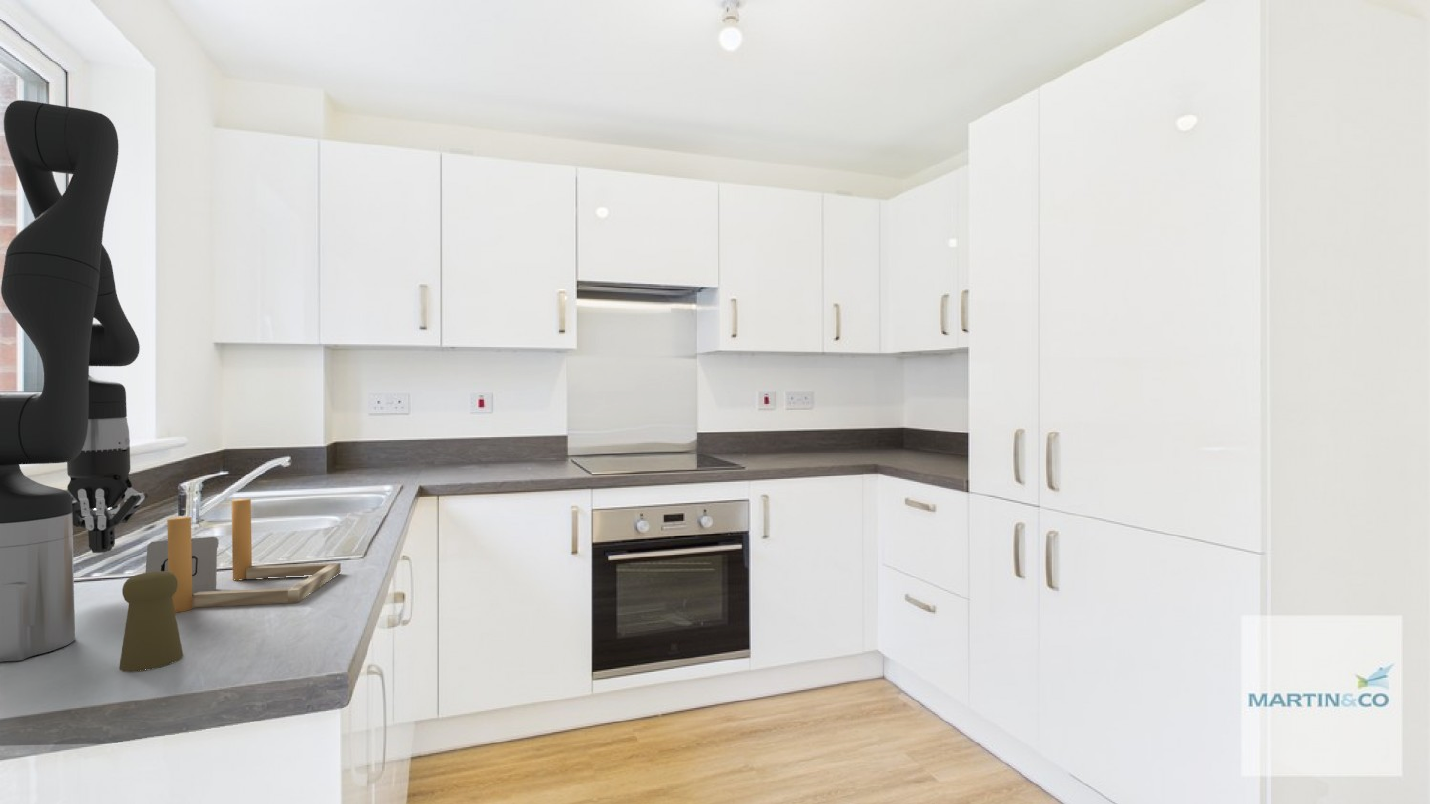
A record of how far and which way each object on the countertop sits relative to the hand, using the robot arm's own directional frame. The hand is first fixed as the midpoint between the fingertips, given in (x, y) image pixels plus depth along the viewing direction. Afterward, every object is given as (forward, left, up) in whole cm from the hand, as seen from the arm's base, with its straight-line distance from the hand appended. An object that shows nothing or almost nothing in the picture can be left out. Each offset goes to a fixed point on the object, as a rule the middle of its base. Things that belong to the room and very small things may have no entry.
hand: (102, 551), depth 108 cm
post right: (+8, -17, -7) cm, 20 cm away
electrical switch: (0, -12, -8) cm, 14 cm away
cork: (-30, -26, -8) cm, 41 cm away
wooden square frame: (0, -25, -7) cm, 26 cm away
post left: (-9, -17, -7) cm, 21 cm away
